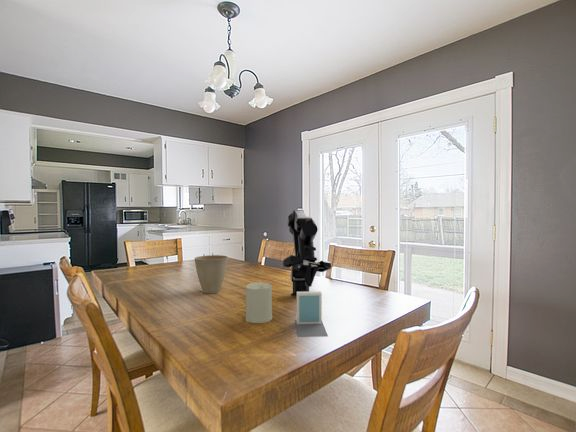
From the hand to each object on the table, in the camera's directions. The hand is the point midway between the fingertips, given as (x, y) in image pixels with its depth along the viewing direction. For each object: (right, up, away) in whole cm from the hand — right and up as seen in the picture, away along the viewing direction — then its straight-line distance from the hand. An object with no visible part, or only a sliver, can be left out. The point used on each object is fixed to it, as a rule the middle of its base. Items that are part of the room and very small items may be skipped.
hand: (309, 286), depth 106 cm
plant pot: (-43, -9, +28) cm, 52 cm away
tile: (-1, -9, -11) cm, 14 cm away
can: (-18, -10, -6) cm, 21 cm away
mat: (-1, -10, -15) cm, 18 cm away
